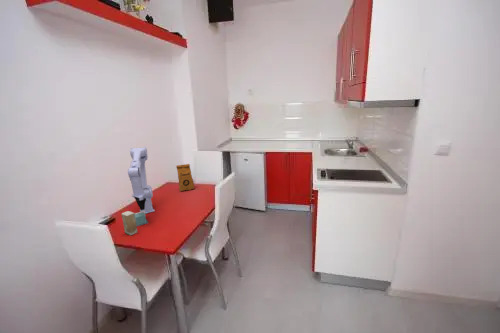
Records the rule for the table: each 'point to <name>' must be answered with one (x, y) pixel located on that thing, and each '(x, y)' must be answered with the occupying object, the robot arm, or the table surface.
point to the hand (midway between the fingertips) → (141, 207)
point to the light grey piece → (140, 212)
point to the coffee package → (185, 177)
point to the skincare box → (129, 223)
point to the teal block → (140, 218)
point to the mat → (142, 224)
